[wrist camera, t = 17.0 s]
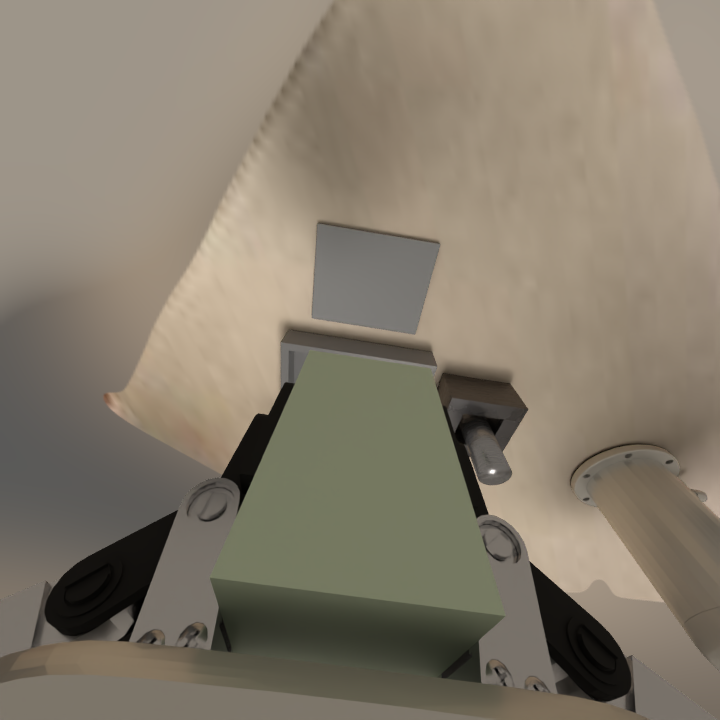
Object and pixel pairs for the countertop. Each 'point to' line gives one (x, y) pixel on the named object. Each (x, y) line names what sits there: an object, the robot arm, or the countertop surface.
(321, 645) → the block
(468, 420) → the rod
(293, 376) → the case
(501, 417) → the square socket block
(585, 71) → the countertop surface
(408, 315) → the mat
